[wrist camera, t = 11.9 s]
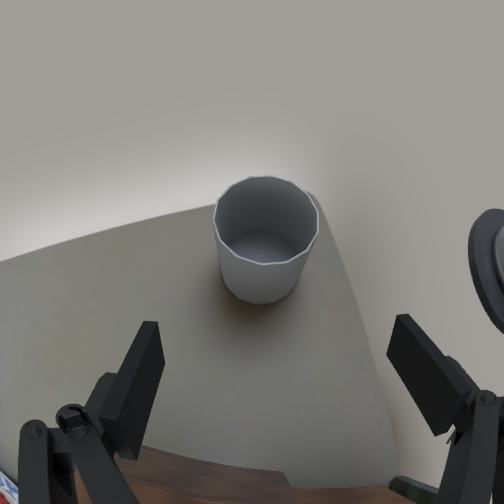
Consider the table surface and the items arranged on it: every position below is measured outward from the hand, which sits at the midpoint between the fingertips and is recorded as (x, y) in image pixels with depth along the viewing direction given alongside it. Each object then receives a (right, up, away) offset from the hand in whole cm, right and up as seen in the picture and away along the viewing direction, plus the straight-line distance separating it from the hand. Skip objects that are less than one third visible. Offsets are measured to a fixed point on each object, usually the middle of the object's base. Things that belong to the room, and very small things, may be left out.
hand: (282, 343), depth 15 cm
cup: (-1, +3, +18) cm, 18 cm away
